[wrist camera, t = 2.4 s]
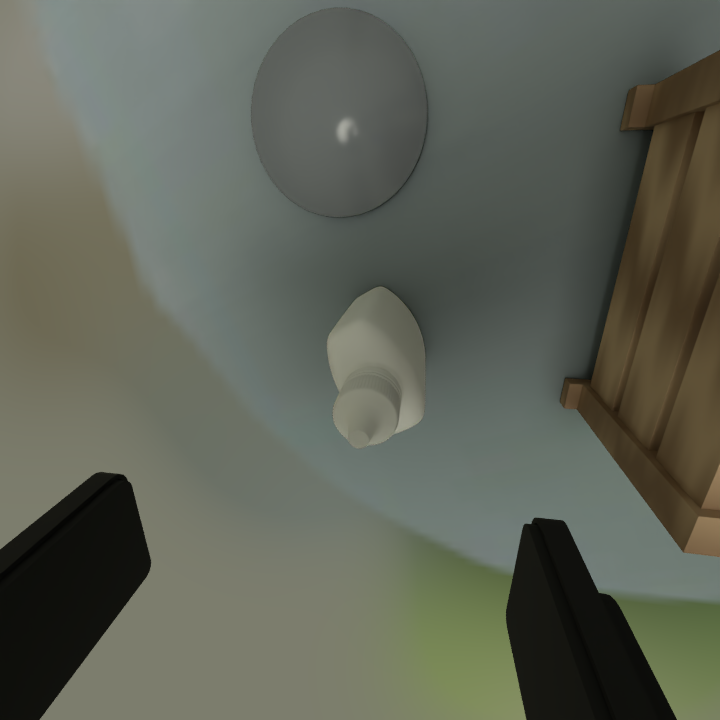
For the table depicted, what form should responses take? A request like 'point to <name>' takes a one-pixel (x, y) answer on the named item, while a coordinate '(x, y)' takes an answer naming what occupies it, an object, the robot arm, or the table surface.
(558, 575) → the robot arm
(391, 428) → the eye dropper bottle
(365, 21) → the coaster
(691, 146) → the brown piece
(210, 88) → the table surface
